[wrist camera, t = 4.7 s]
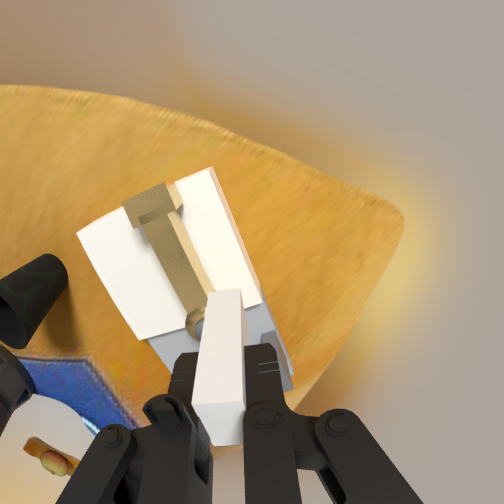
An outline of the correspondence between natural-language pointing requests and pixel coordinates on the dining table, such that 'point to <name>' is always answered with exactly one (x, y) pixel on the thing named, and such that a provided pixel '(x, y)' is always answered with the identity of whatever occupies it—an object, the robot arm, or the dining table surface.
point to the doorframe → (158, 285)
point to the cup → (29, 298)
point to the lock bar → (172, 246)
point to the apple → (54, 463)
